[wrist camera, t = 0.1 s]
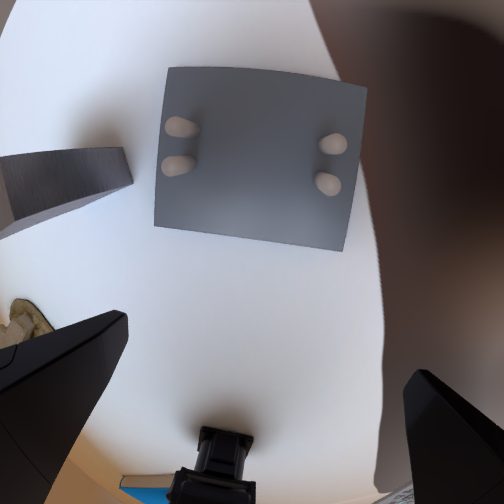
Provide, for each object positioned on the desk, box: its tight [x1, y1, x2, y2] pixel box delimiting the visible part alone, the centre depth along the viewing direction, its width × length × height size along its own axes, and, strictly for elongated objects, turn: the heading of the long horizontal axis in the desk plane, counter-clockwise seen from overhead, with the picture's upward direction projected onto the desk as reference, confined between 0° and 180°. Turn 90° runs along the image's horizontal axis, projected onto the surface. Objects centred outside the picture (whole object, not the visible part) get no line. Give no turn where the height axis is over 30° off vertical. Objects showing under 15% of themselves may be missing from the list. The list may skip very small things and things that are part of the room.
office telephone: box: [372, 480, 414, 504], centre depth 38 cm, size 23×3×20 cm
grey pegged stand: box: [154, 67, 367, 252], centre depth 18 cm, size 12×14×5 cm
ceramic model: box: [0, 299, 54, 349], centre depth 24 cm, size 14×11×10 cm
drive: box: [0, 147, 134, 240], centre depth 15 cm, size 3×6×12 cm, turn 107°
